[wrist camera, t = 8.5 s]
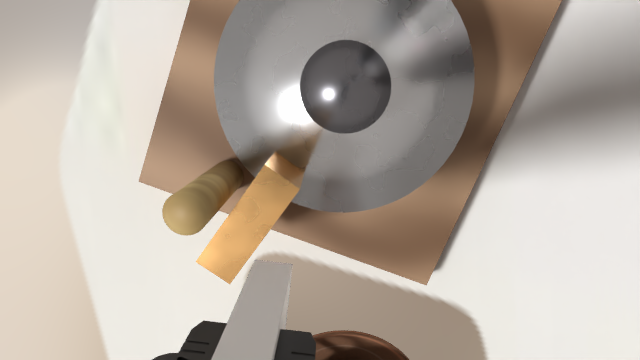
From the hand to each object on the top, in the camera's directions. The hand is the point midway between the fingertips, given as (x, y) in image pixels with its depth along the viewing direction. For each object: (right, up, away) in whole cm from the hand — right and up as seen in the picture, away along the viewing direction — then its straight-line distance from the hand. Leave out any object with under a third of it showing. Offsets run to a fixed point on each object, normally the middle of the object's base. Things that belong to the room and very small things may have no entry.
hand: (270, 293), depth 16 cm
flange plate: (+2, +8, +8) cm, 12 cm away
